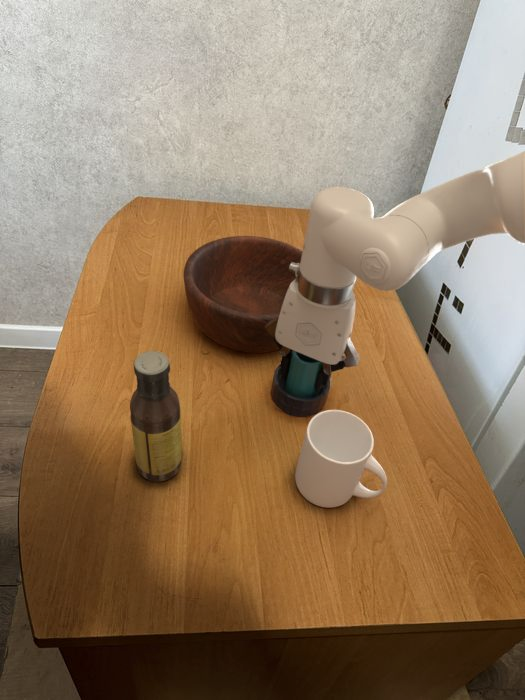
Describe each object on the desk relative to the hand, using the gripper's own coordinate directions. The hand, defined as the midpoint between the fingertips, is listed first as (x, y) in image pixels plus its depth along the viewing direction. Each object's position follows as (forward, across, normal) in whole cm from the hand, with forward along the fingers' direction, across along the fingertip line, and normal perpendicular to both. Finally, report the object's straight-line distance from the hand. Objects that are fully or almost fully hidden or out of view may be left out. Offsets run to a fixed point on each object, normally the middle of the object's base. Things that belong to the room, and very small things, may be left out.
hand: (303, 377), depth 82 cm
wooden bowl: (+5, -16, +14) cm, 22 cm away
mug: (+5, +11, -13) cm, 18 cm away
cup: (+3, 0, 0) cm, 3 cm away
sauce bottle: (+5, -12, -22) cm, 25 cm away
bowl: (+5, 0, 0) cm, 5 cm away
